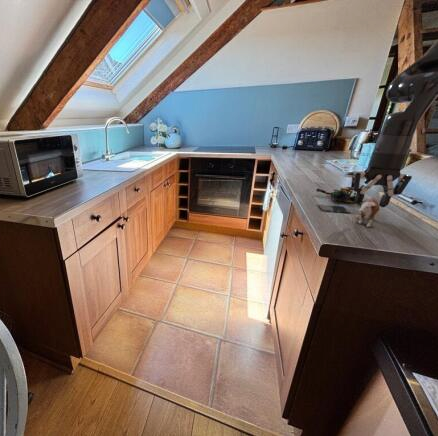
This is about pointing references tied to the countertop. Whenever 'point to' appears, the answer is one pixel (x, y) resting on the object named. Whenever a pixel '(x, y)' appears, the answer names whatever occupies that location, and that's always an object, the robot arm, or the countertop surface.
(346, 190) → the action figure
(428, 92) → the robot arm
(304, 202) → the countertop surface
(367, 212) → the bull figurine
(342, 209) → the slate coaster
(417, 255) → the countertop surface
